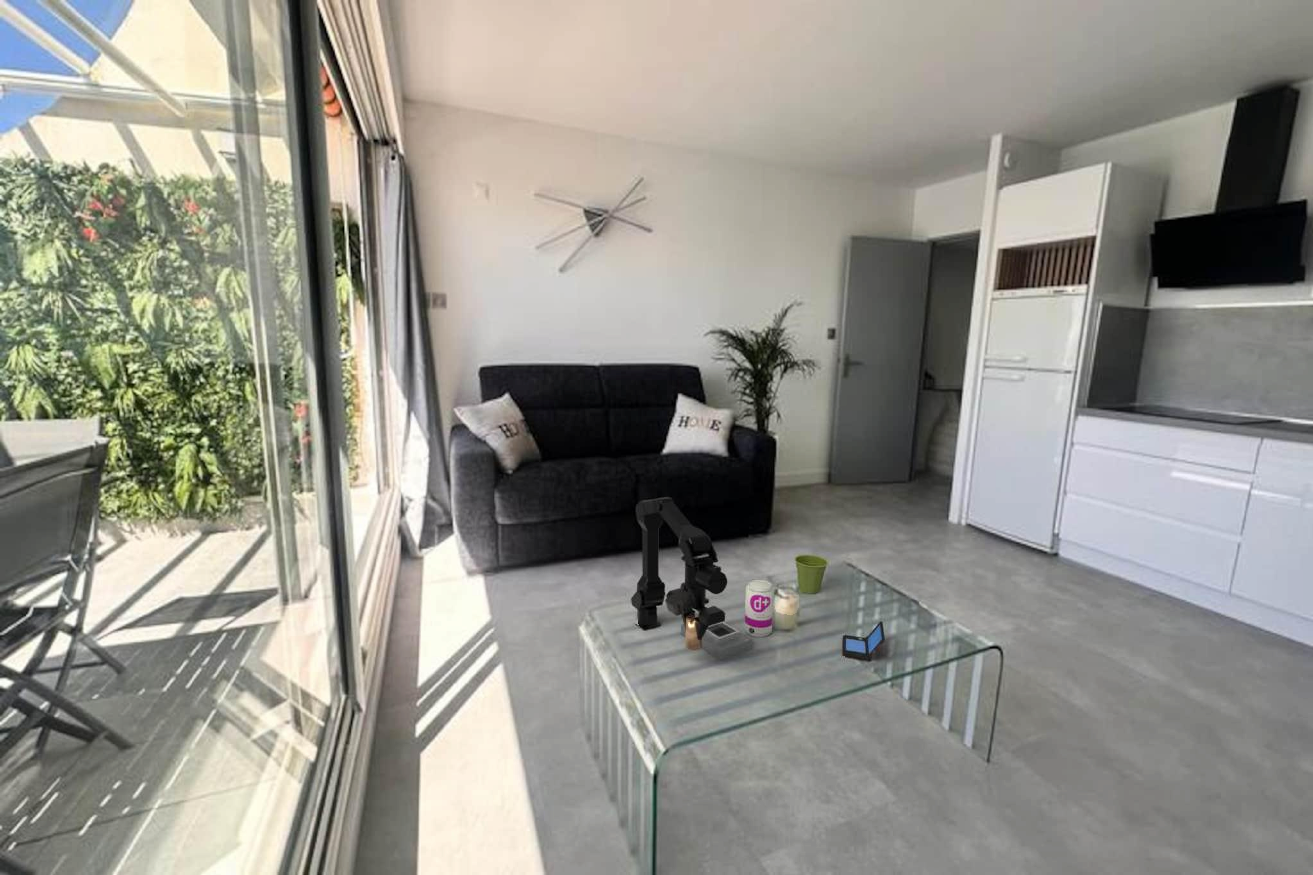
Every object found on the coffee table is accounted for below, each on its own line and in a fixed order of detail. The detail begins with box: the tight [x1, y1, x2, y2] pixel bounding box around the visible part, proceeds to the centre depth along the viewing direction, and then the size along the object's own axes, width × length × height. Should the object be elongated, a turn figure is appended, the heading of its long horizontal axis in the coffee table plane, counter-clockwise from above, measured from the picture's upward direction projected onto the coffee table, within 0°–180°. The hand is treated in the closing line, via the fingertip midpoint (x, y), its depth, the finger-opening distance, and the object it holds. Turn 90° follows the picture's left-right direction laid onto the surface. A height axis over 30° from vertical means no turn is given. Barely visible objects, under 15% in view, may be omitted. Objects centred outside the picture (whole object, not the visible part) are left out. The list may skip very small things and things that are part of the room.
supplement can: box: [743, 579, 775, 638], centre depth 175 cm, size 8×8×15 cm
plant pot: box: [793, 554, 829, 595], centre depth 207 cm, size 12×12×11 cm
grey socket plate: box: [680, 621, 754, 661], centre depth 169 cm, size 18×12×4 cm, turn 34°
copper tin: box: [684, 613, 702, 651], centre depth 156 cm, size 4×4×8 cm
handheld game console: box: [841, 621, 886, 663], centre depth 165 cm, size 12×11×7 cm
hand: (694, 635), depth 156 cm, fingers closed on copper tin, 4 cm apart
